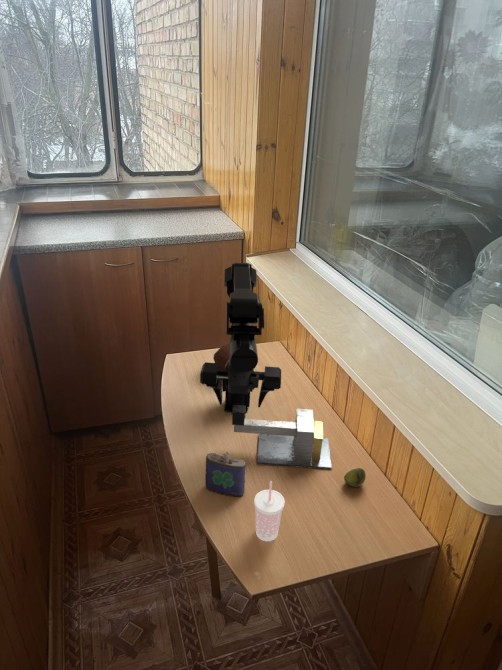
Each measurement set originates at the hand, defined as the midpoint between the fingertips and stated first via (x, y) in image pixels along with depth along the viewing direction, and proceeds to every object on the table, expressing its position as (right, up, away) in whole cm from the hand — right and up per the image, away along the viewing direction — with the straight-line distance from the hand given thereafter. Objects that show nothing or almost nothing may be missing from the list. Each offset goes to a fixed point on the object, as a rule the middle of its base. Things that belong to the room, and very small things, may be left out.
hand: (239, 405), depth 124 cm
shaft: (+7, -7, +3) cm, 10 cm away
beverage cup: (+6, -24, -17) cm, 30 cm away
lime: (+27, -18, -4) cm, 33 cm away
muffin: (-4, +4, +36) cm, 37 cm away
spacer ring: (+19, -9, +3) cm, 22 cm away
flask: (-3, -19, -7) cm, 20 cm away
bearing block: (+13, -12, +5) cm, 19 cm away
